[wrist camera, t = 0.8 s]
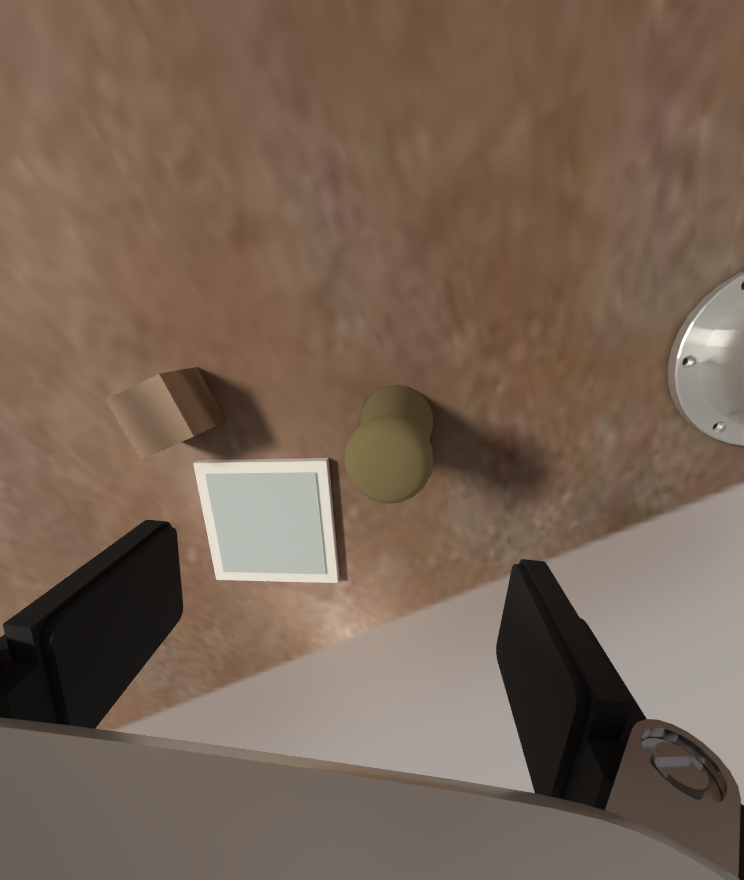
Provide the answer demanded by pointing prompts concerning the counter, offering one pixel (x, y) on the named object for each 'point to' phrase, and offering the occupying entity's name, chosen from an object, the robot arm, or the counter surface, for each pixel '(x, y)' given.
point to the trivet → (269, 519)
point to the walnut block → (166, 410)
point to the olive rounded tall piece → (391, 446)
